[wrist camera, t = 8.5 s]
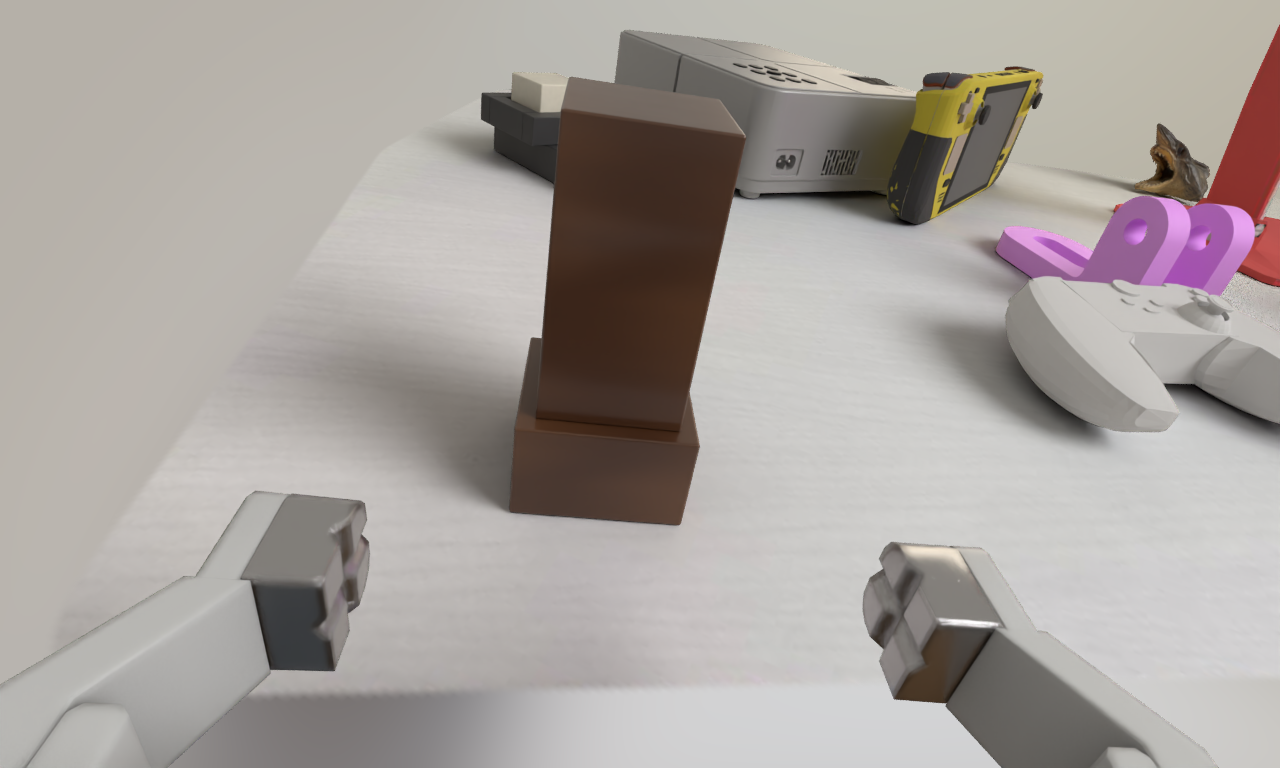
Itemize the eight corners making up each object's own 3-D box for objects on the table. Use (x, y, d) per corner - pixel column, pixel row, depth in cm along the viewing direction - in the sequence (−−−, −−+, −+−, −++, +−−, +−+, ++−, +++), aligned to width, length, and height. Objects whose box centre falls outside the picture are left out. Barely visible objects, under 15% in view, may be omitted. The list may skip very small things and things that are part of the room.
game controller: (1144, 400, 25) (999, 239, 31) (1068, 475, 28) (950, 313, 34) (1423, 402, 28) (1238, 257, 35) (1328, 469, 31) (1175, 323, 38)
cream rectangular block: (539, 117, 45) (542, 84, 44) (510, 103, 47) (511, 71, 46) (583, 116, 47) (586, 84, 46) (553, 103, 50) (556, 72, 48)
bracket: (1192, 337, 39) (1270, 220, 36) (1111, 332, 38) (1182, 210, 34) (1047, 248, 50) (1095, 151, 46) (979, 242, 49) (1023, 141, 45)
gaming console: (925, 237, 48) (984, 83, 42) (868, 217, 50) (918, 68, 44) (1010, 185, 66) (1059, 73, 61) (966, 172, 68) (1010, 62, 63)
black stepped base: (567, 202, 43) (573, 136, 41) (477, 150, 49) (479, 91, 47) (674, 189, 49) (684, 131, 46) (581, 144, 55) (587, 91, 53)
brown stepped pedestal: (508, 513, 20) (534, 109, 14) (525, 412, 24) (550, 69, 18) (680, 525, 20) (774, 145, 14) (667, 425, 24) (736, 98, 19)
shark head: (1144, 200, 69) (1183, 131, 66) (1101, 181, 75) (1135, 115, 71) (1211, 208, 71) (1252, 141, 67) (1164, 189, 76) (1200, 125, 72)
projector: (743, 203, 48) (770, 84, 44) (603, 119, 64) (614, 25, 59) (905, 197, 56) (941, 96, 52) (746, 124, 72) (765, 42, 67)
